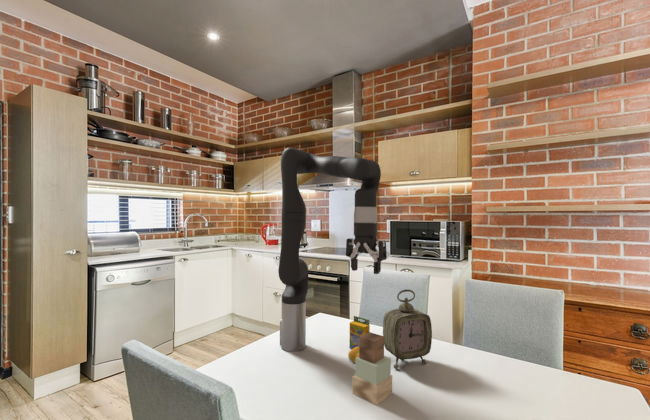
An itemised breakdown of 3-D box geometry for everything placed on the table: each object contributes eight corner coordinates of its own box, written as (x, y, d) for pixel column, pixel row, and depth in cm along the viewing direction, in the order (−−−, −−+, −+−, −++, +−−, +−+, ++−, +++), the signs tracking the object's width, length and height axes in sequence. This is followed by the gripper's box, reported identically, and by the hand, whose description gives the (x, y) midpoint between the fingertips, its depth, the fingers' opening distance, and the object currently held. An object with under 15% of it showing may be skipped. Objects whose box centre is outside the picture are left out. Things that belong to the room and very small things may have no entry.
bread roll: (363, 369, 105) (363, 356, 105) (344, 359, 111) (344, 348, 112) (379, 361, 110) (379, 349, 110) (360, 352, 117) (360, 341, 117)
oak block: (352, 394, 90) (352, 376, 90) (368, 383, 96) (368, 366, 96) (376, 405, 85) (376, 386, 85) (392, 393, 90) (392, 375, 91)
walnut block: (359, 358, 90) (359, 336, 90) (369, 352, 94) (369, 332, 94) (374, 363, 87) (374, 341, 87) (384, 357, 91) (384, 336, 91)
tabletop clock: (394, 372, 102) (394, 294, 102) (380, 360, 110) (380, 288, 111) (432, 366, 107) (431, 290, 107) (415, 354, 115) (415, 285, 115)
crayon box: (349, 348, 120) (349, 317, 121) (353, 345, 123) (353, 315, 123) (365, 353, 116) (365, 321, 116) (369, 351, 118) (369, 319, 118)
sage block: (355, 376, 90) (355, 358, 90) (370, 367, 95) (370, 350, 95) (376, 385, 85) (376, 366, 85) (390, 376, 90) (390, 358, 90)
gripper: (340, 221, 104) (340, 270, 104) (377, 221, 95) (377, 276, 94) (354, 220, 110) (354, 268, 110) (391, 221, 100) (391, 273, 100)
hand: (365, 272), depth 102 cm, fingers open, 8 cm apart
